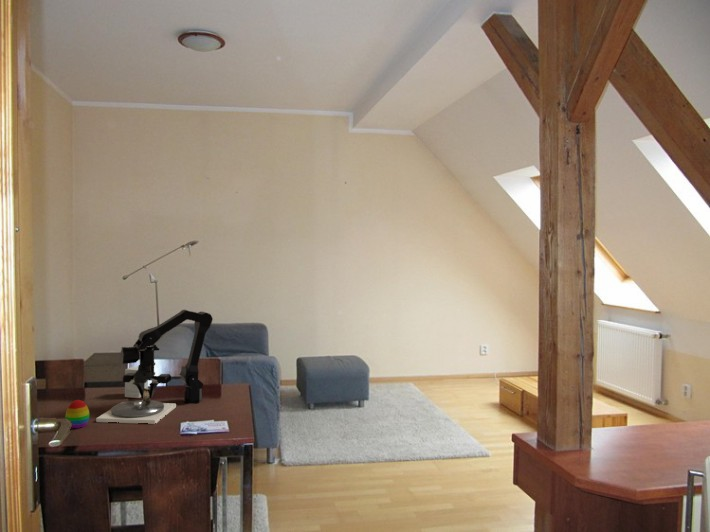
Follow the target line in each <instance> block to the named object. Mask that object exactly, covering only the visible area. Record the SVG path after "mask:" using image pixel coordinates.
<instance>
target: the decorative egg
mask: <svg viewBox="0 0 710 532" xmlns="http://www.w3.org/2000/svg"><path fill="white" fill-rule="evenodd" d="M64 417H65V419H68V420H70V421H71V423H72V427H71V428H70V429H73V428H76V429H81V428H80V427H82V428H85V427H86V426H87V424H88V423H89V420H90V410H89V407H88V405H87V404H86V403H85V402H84V401H83V400H82V399H81V400H80V399H75V400H73V401H72V402H71V403H70V404H69V405H68V406H67V409H66V412H65V416H64Z"/></svg>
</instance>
